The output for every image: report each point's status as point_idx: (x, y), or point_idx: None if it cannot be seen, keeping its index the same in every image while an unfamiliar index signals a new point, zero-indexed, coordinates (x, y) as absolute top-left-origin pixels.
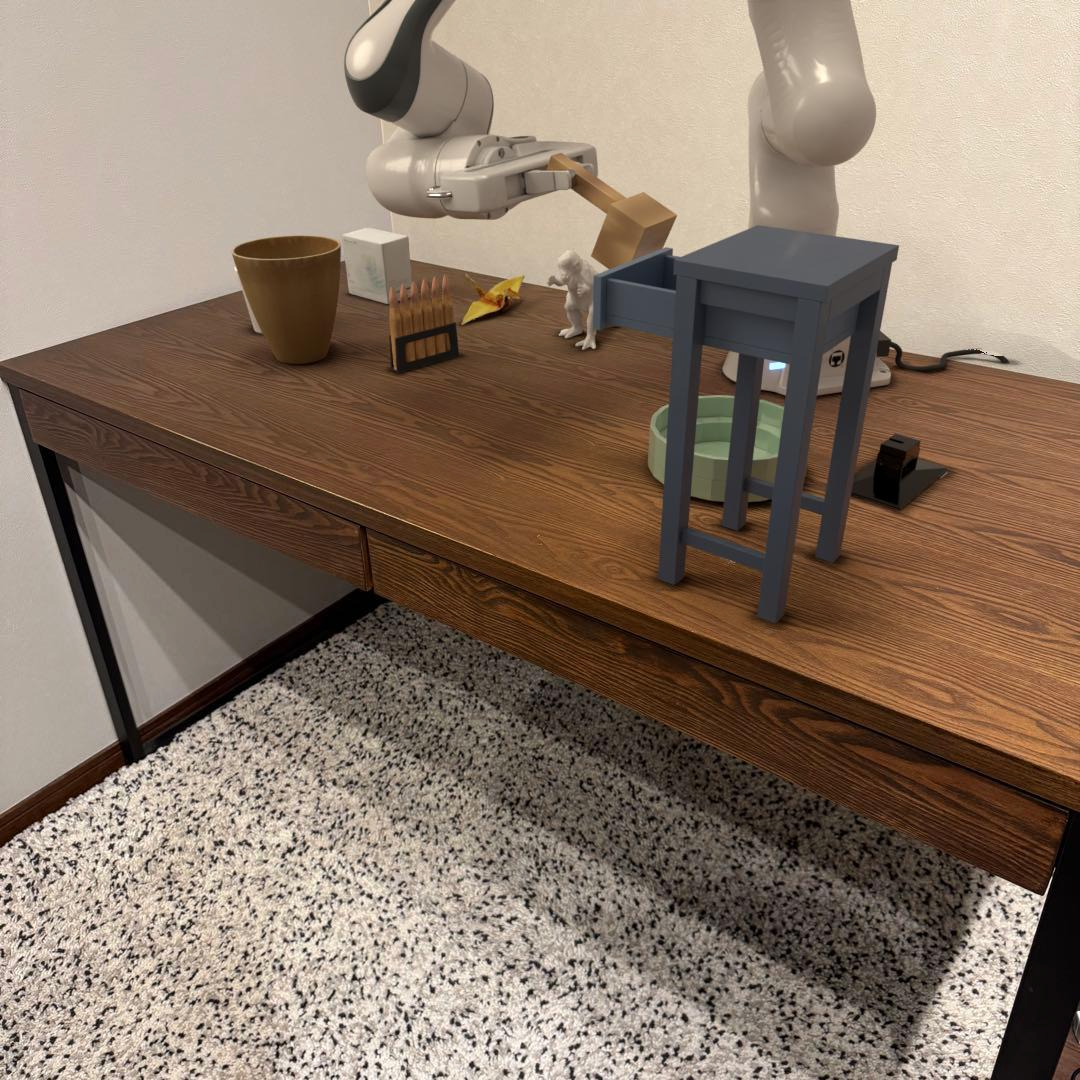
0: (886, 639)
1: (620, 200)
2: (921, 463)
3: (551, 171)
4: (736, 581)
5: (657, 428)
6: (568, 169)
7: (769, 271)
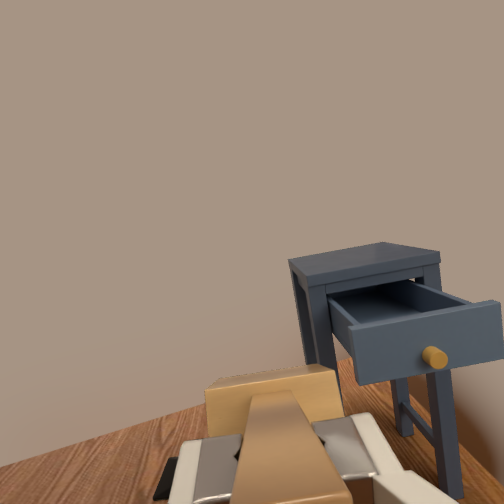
0: (363, 398)
1: (297, 376)
2: (171, 468)
3: (412, 481)
4: (402, 462)
5: None
6: (327, 437)
7: (393, 246)
